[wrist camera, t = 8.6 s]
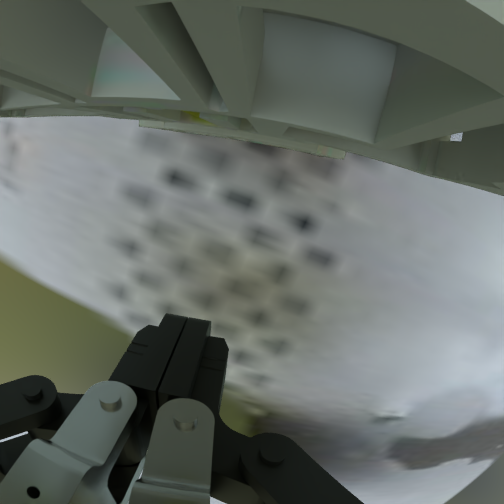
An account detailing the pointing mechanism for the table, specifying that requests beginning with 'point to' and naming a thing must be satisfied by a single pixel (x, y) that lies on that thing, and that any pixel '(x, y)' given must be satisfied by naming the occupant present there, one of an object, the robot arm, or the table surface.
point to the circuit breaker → (275, 74)
